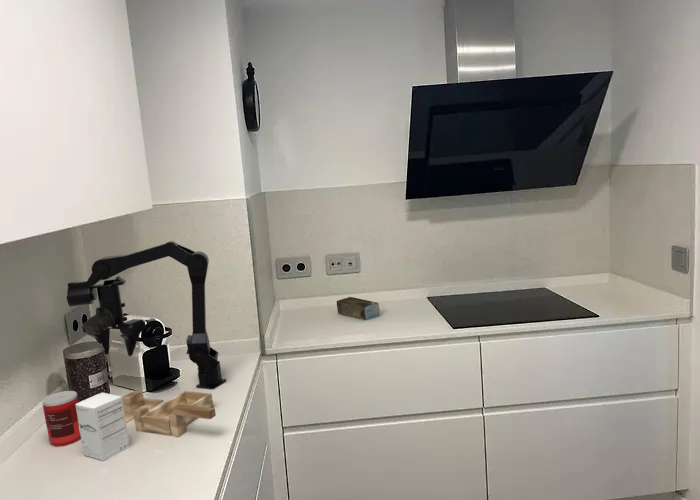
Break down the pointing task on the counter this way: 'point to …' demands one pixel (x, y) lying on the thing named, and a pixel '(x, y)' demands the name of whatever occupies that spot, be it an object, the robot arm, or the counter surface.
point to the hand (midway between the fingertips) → (118, 355)
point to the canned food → (62, 418)
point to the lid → (137, 403)
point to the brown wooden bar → (194, 411)
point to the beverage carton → (358, 308)
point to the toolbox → (170, 414)
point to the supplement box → (102, 426)
